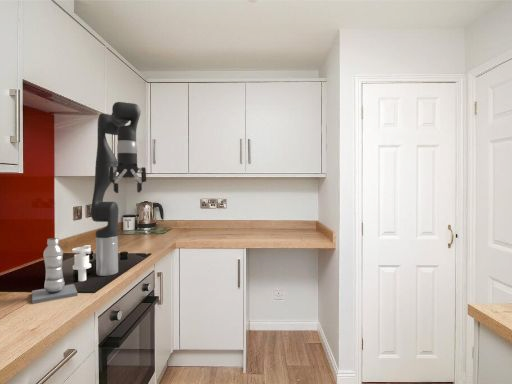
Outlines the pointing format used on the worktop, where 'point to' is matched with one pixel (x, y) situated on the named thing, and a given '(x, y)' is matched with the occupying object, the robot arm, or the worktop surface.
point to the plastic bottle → (53, 266)
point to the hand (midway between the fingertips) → (127, 192)
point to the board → (53, 294)
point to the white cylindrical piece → (82, 261)
